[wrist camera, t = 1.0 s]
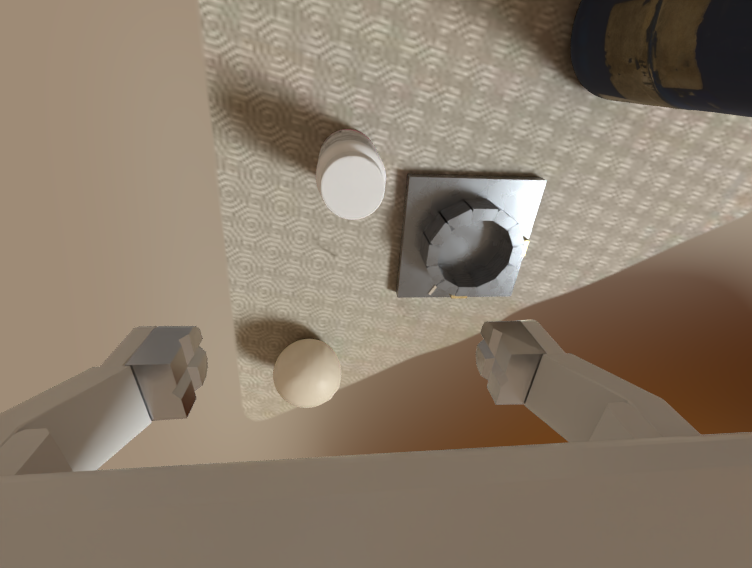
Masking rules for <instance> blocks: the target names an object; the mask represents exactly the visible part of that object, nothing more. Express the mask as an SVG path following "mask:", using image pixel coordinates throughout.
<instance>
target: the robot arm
mask: <svg viewBox="0 0 752 568" xmlns="http://www.w3.org/2000/svg"><path fill="white" fill-rule="evenodd" d="M481 335H482V337H483V338H484V339H483V340H482V341H481V342H480V343H479V344H478V345H477V351H476V364H477V367H478V370H479V372H480V374H481V376H483V377H484V378H485V379H487V380H488V385H487V388H488V390H489V392H490V394H491V396H492V398H493V400H494V402H495V404H496V405H501V404H525V406H526V407H527V408H528V409H529V410H531V411H532V412H533V413H534V414H535V415H537V416H538V417H539V418H540V419H542V420H543V421H544V422H545V423H546V424H548V425H549V426H550V427H551V428H553V429H554V430H555V431H556V432H558V433H559V434H560V435H561V436H562V437H563V438H565V439H566V440H567V441H568V442H570V443H556V444H540V445H524V446H507V447H488V448H470V449H454V450H435V451H417V452H400V453H383V454H367V455H350V456H332V457H316V458H299V459H282V460H266V461H247V462H230V463H213V464H196V465H180V466H161V467H144V468H129V469H110V470H97V469H98V468H99V467H100V466H101V465H103V464H104V463H105V462H106V461H107V460H108V459H110V458H111V457H112V456H113V455H114V454H115V453H117V452H118V451H119V450H120V449H121V448H122V447H124V446H125V445H126V444H127V443H128V442H129V441H131V439H133V438H134V437H135V436H136V435H137V434H139V433H140V432H141V431H142V430H143V429H144V428H146V427H147V426H148V425H149V424H150V423H151V421H155V420H168V419H183V418H187V417H188V415H189V413H190V411H191V409H192V406H193V404H194V402H195V400H196V395H195V390H197V389H198V388H199V387H201V386H202V385H203V383H204V380H205V378H206V374H207V368H208V362H207V356H206V352H205V351H204V350H203V349H202V348H201V347H200V346H199V344H200V343H201V341H202V339H203V338H202V335H201V331H200V329H199V328H198V327H196V326H158V327H157V326H141V327H137V328H134V329H133V330H132V331H131V332H130V333H129V334H128V335H127V337H126V338H125V339H124V340H123V341H122V342H121V343H120V345H119V346H118V347H117V348H116V349H115V350H114V351H113V352H112V353H111V355H110V356H109V357H108V358H107V359H106V360H105V361H104V363H103V364H102V365H101V366H100V367H92V368H90V369H88V370H86V371H84V372H82V373H80V374H78V375H76V376H75V377H72V378H70V379H68V380H66V381H64V382H62V383H60V384H58V385H56V386H54V387H52V388H50V389H48V390H46V391H44V392H42V393H40V394H39V395H37V396H35V397H32V398H30V399H29V400H26V401H25V402H22V403H20V404H19V405H17V406H15V407H13V408H11V409H9V410H7V411H5V412H3V413H1V414H0V568H752V432H745V433H744V432H743V433H727V434H711V435H701V434H699V433H698V432H697V431H696V430H695V429H694V428H693V427H692V426H691V425H690V424H689V423H688V422H687V421H685V419H683V418H682V417H681V416H680V415H679V414H678V413H677V412H676V411H675V410H674V409H673V408H672V407H671V406H670V405H669V404H667V403H666V402H665V401H664V400H663V399H661V398H659V397H657V396H655V395H653V394H651V393H649V392H647V391H645V390H643V389H641V388H639V387H637V386H635V385H633V384H631V383H629V382H627V381H625V380H623V379H621V378H619V377H617V376H615V375H613V374H611V373H609V372H607V371H605V370H603V369H601V368H599V367H597V366H595V365H593V364H591V363H589V362H587V361H585V360H583V359H581V358H579V357H577V356H575V355H573V354H566V353H565V352H564V351H563V350H562V349H561V348H560V346H559V345H558V344H557V343H556V342H555V341H554V340H553V339H552V337H550V335H549V334H548V333H547V332H546V331H545V330H544V329H543V327H542V326H541V325H540V324H539V323H538V322H537V321H535V320H517V321H496V322H484V324H483V326H482V329H481Z"/></svg>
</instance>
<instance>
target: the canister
mask: <svg viewBox="0 0 752 568" xmlns="http://www.w3.org/2000/svg"><path fill="white" fill-rule="evenodd" d="M571 60H572V65H573V68H574V71H575V73H576V76H577V78H578V80H579V81H580V83H581V84H582V85H583V86H584V87H585V88H586V89H587V90H588V91H589V92H591V93H592V94H594V95H596V96H598V97H601V98H604V99H608V100H613V101H621V102H629V103H637V104H643V105H652V106H661V107H669V108H675V109H686V110H699V111H707V112H716V113H724V114H731V115H739V116H747V117H752V0H582V1H581V3H580V6H579V8H578V11H577V13H576V17H575V20H574V24H573V28H572V35H571Z"/></svg>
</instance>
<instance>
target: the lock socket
mask: <svg viewBox="0 0 752 568" xmlns="http://www.w3.org/2000/svg"><path fill="white" fill-rule="evenodd" d="M545 184H546V180H545V179H543V178H540V177H505V176H470V175H435V174H408V175H407V185H406V196H405V206H404V216H403V226H402V237H401V247H400V257H399V267H398V278H397V288H396V294H397V297H451V298H467V297H485V296H511V294H512V291H513V288H514V284H515V281H516V278H517V275H518V272H519V268H520V265H521V262H522V259H523V256H525V253H526V250H527V247H528V244H529V240H528V239H529V236H530V233H531V230H532V226H533V223H534V220H535V217H536V213H537V210H538V207H539V204H540V201H541V197H542V194H543V191H544V188H545Z"/></svg>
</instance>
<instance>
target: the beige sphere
mask: <svg viewBox="0 0 752 568" xmlns="http://www.w3.org/2000/svg"><path fill="white" fill-rule="evenodd" d="M273 380H274V384H275V387H276V389H277V391H278V393H279V394H280V396H281V397H282V398H283V399H284V400H286V401H287V402H288V403H290V404H292V405H294V406H298V407H302V408H310V407H315V406H318V405H321V404H323V403H324V402H326V401H328V400H330V399H331V398H332V397H333V394H334V393H335V392H336V391H337V390H338V388H339V387H340V381H341V365H340V362H339V359H338V357H337V355H336V353H335V352H334V350H333V349H332V348H331V347H330V346H329V345H327V344H326V343H325V342H323V341H320V340H315V339H302V340H298V341H296V342H294V343H292V344H290V345H289V346H287V347H286V348H285V349H284V350H283V351H282V352H281V354H280V355H279V357H278V358H277V360H276V363H275V366H274V370H273Z"/></svg>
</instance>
